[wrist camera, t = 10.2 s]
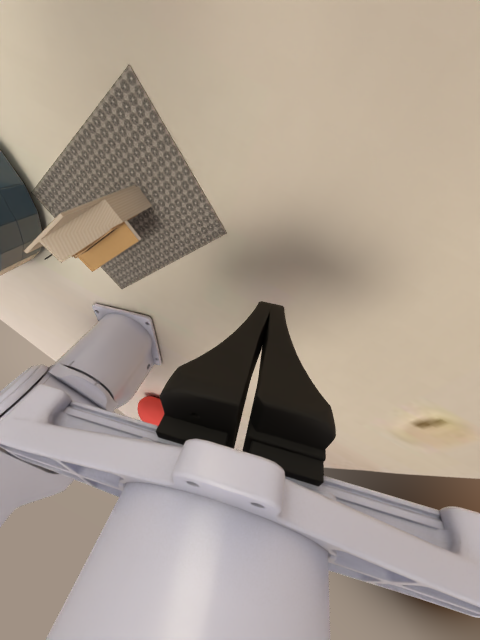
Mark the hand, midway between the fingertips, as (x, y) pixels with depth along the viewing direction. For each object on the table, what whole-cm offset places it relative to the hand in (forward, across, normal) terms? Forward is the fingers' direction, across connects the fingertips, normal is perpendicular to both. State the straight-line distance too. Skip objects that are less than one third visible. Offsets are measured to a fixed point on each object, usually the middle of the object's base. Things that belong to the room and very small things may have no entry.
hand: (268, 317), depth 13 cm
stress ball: (+9, +15, +34) cm, 38 cm away
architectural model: (+9, +14, -1) cm, 17 cm away
